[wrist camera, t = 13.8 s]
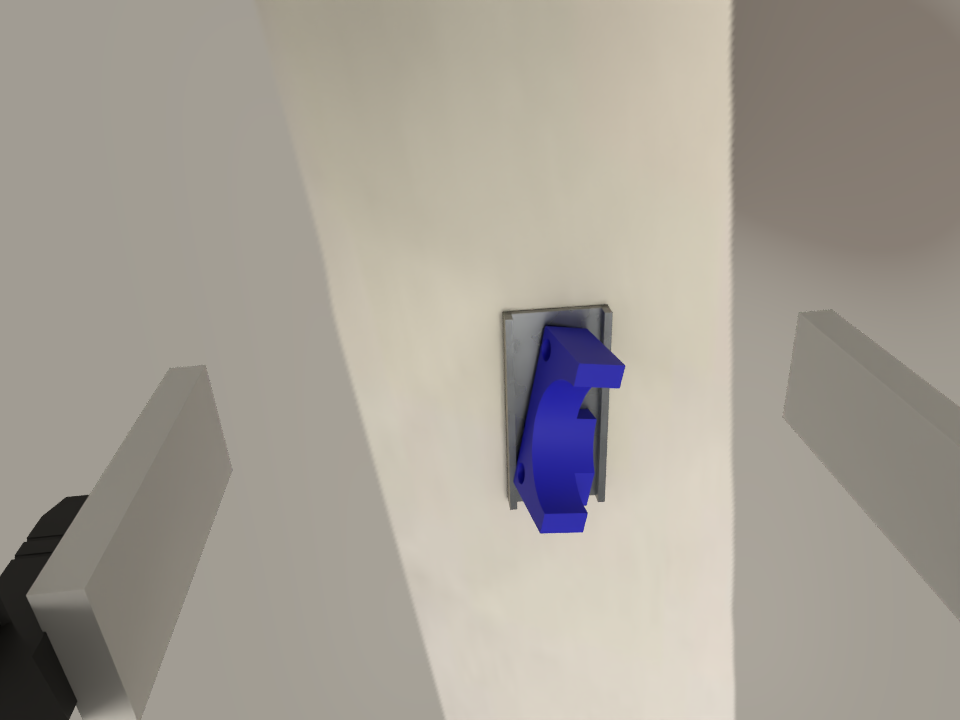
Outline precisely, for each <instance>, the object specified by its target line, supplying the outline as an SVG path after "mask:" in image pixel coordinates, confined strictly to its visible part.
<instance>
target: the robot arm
mask: <svg viewBox="0 0 960 720" xmlns="http://www.w3.org/2000/svg"><path fill="white" fill-rule="evenodd" d="M783 418H784V419H785V420H786V422H787V423H788V424H789V425H790V426H791V427H792V428H793V430H794V431H795V432H796V433H797V434H798V435H799V437H800V438H801V439H802V440H803V441H804V442H805V443H806V445H807V446H808V447H809V448H810V449H811V450H812V452H813V453H814V454H815V455H816V456H817V457H818V458H819V460H820V461H821V462H822V463H823V464H824V465H825V467H826V468H827V469H828V470H829V471H830V472H831V473H832V475H833V476H834V477H835V478H836V479H837V480H838V482H839V483H840V484H841V485H842V486H843V487H844V488H845V490H846V491H847V492H848V493H849V494H850V495H851V496H852V498H853V499H854V500H855V501H856V502H857V503H858V505H859V506H860V507H861V508H862V509H863V510H864V512H865V513H866V514H867V515H868V516H869V517H870V518H871V520H872V521H873V522H874V523H875V524H876V525H877V526H878V528H879V529H880V530H881V531H882V532H883V533H884V535H885V536H886V537H887V538H888V539H889V540H890V541H891V542H892V544H893V545H894V546H895V547H896V548H897V550H898V551H899V552H900V553H901V554H902V555H903V556H904V558H906V560H907V561H908V562H909V563H910V564H911V566H912V567H913V568H914V569H915V570H916V571H917V573H918V574H919V575H920V576H921V577H922V578H923V579H924V581H925V582H926V583H927V584H928V585H929V586H930V588H931V589H932V590H933V591H934V592H935V593H936V594H937V596H938V597H939V598H940V599H941V600H942V601H943V603H944V604H945V605H946V606H947V607H948V608H949V609H950V611H952V613H953V614H954V615H955V616H956V618H957V619H959V621H960V407H959V406H958V405H957V404H955V403H954V402H953V401H951V400H950V399H949V398H947V397H946V396H945V395H943V394H942V393H941V392H940V391H938V390H937V389H936V388H934V387H933V386H931V385H930V384H929V383H928V382H926V381H925V380H924V379H922V378H921V377H920V376H919V375H917V374H916V373H915V372H913V371H912V370H911V369H909V368H908V367H907V366H905V365H904V364H903V363H901V362H900V361H899V360H897V359H896V358H895V357H894V356H892V355H891V354H890V353H888V352H887V351H886V350H884V349H883V348H882V347H880V346H879V345H878V344H877V343H875V342H874V341H873V340H871V339H870V338H869V337H867V336H866V335H865V334H863V333H862V332H861V331H860V330H858V329H857V328H856V327H854V326H853V325H852V324H850V323H849V322H848V321H846V320H845V319H844V318H842V317H841V316H840V315H839V314H837V313H836V312H835V311H833V310H820V311H809V312H799V314H798V321H797V327H796V334H795V340H794V346H793V353H792V360H791V366H790V373H789V379H788V386H787V392H786V399H785V405H784V412H783ZM231 473H232V466H231V462H230V458H229V454H228V450H227V447H226V442H225V438H224V435H223V431H222V427H221V423H220V419H219V415H218V411H217V407H216V403H215V399H214V396H213V392H212V388H211V384H210V380H209V376H208V372H207V368H206V365H199V366H188V367H177V368H169V370H168V371H167V373H166V374H165V376H164V378H163V379H162V381H161V382H160V384H159V386H158V387H157V389H156V390H155V392H154V393H153V395H152V397H151V399H150V400H149V401H148V403H147V405H146V406H145V408H144V410H143V411H142V412H141V414H140V416H139V417H138V419H137V421H136V422H135V424H134V425H133V427H132V428H131V430H130V431H129V433H128V435H127V436H126V438H125V440H124V441H123V443H122V444H121V446H120V447H119V449H118V451H117V452H116V454H115V455H114V457H113V459H112V460H111V462H110V463H109V465H108V466H107V468H106V469H105V471H104V473H103V474H102V476H101V477H100V479H99V481H98V482H97V484H96V485H95V487H94V488H93V490H92V492H91V493H90V495H83V496H72V497H66V498H64V499H63V500H62V501H61V502H60V503H58V504H57V505H56V506H55V507H53V508H52V509H51V510H49V511H48V512H47V513H46V514H44V515H43V516H42V517H41V519H40V520H39V521H38V523H37V524H36V525H35V527H34V528H33V530H32V531H31V533H30V534H29V536H28V537H27V542H24V543H23V544H22V546H21V547H20V548H19V550H18V551H17V553H16V554H15V559H14V560H11V561H10V563H9V564H8V566H7V567H6V569H5V570H4V572H3V573H2V574H1V576H0V720H69V718H70V716H71V714H72V712H73V710H74V708H75V706H77V708H78V710H79V713H80V715H81V717H82V719H83V720H141V718H142V715H143V712H144V710H145V706H146V704H147V701H148V699H149V696H150V693H151V690H152V688H153V685H154V682H155V680H156V677H157V674H158V671H159V668H160V666H161V663H162V660H163V658H164V655H165V652H166V650H167V647H168V644H169V642H170V639H171V636H172V633H173V631H174V628H175V625H176V622H177V620H178V617H179V614H180V612H181V609H182V606H183V603H184V601H185V598H186V595H187V593H188V590H189V587H190V584H191V582H192V579H193V576H194V574H195V571H196V568H197V565H198V563H199V560H200V557H201V555H202V552H203V549H204V546H205V544H206V541H207V538H208V535H209V533H210V530H211V527H212V525H213V522H214V519H215V516H216V514H217V511H218V508H219V506H220V503H221V500H222V497H223V495H224V492H225V489H226V486H227V484H228V481H229V478H230V476H231Z"/></svg>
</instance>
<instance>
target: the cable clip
mask: <svg viewBox="0 0 960 720" xmlns="http://www.w3.org/2000/svg"><path fill="white" fill-rule="evenodd" d="M624 369H625V365H624V364H623V363H622V362H621V361H620V360H619V359H618V358H617V357H616V356H615V355H614V354H613V353H612V352H611V351H610V350H609V349H608V348H607V347H606V346H605V345H603V344H602V343H601V342H600V341H599V340H598V339H597V338H596V337H595V336H594V335H593V334H592V333H591V332H590V331H589V330H588V329H585V328H569V327H553V326H545V330H544V335H543V339H542V344H541V349H540V354H539V359H538V364H537V369H536V374H535V378H534V383H533V388H532V393H531V398H530V403H529V408H528V413H527V418H526V422H525V427H524V432H523V437H522V442H521V447H520V452H519V457H518V461H517V466H516V471H515V476H514V481H513V482H514V484H515V486H516V488H517V490H518V492H519V494H520V496H521V498H522V500H523V502H524V503H525V505H526V507H527V509H528V511H529V513H530V515H531V517H532V519H533V521H534V522H535V524H536V526H537V528H538V530H539V532H540V533H574V532H583V530H584V526H585V522H586V518H587V514H588V513H587V511H586V509H585V507H584V506H586V505H587V501H588V498H589V494H590V490H591V486H592V482H593V478H594V474H595V472H594V462H593V441H594V432H595V425H596V421H597V419H596V418H595V417H594V415H593V414H592V413H591V412H590V410H589V409H580V406H581V404H582V402H583V399H584V398H585V396H586V394H587V393H588V391H589V390H590V389H591V388H592V387H597V388H620V384H621V380H622V377H623V373H624Z"/></svg>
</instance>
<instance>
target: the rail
mask: <svg viewBox="0 0 960 720" xmlns="http://www.w3.org/2000/svg"><path fill="white" fill-rule="evenodd" d="M545 326H553V327H569V328H585V329H588V330H589V331H590V332H591V333H592V334H593V335H594V336H595V337H596V338H597V339H598V340H599V341H600V342H601V343H602V344H603V345H605V346H606V347H607V348H608V349H609V350H610V351H611V336H612V311H611V309H610V308H609V306H608V305H594V306H580V307H566V308H552V309H538V310H523V311H509V312H503V340H504V375H505V411H506V446H507V482H508V501H509V506H510V510H513V509H517V502H518V501H523V500H522V498H521V496H520V494H519V492H518V490H517V488H516V486H515V484H514V482H513V481H514V476H515V471H516V466H517V461H518V457H519V452H520V447H521V442H522V437H523V432H524V427H525V422H526V418H527V413H528V408H529V403H530V398H531V393H532V388H533V383H534V378H535V374H536V369H537V364H538V359H539V354H540V349H541V344H542V339H543V335H544V330H545ZM580 409H589V410H590V412H591V413H592V414H593V415H594V417H595V418H596V419H597V421H596V425H595V432H594V441H593V462H594V472H595V474H594V478H593V482H592V486H591V490H590V494H589V495H595V496H596V498H597V501H598V502H604V501H605V481H606V457H607V433H608V409H609V388H597V387H592V388H591V389H590V390H589V391H588V393H587V394H586V396H585V398H584V399H583V402H582V404H581V406H580Z"/></svg>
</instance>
